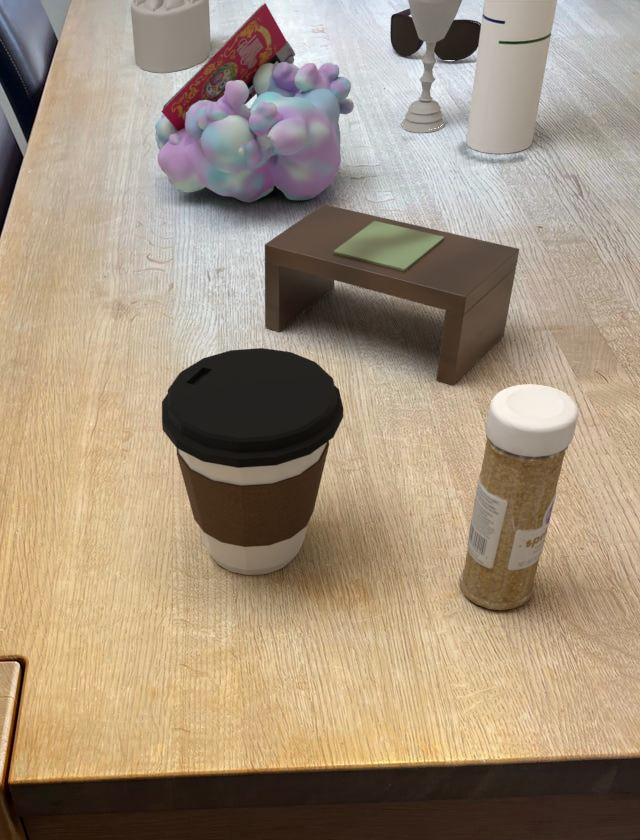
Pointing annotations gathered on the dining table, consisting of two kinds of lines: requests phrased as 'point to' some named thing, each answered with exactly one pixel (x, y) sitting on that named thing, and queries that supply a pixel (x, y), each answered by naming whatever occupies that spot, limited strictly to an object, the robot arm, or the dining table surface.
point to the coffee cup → (252, 451)
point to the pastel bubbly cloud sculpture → (255, 120)
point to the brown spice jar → (516, 493)
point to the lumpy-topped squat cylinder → (170, 34)
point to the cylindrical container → (509, 74)
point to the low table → (395, 276)
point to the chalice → (429, 60)
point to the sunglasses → (452, 47)
